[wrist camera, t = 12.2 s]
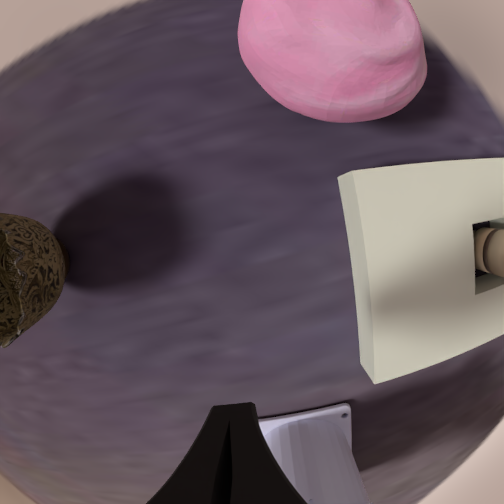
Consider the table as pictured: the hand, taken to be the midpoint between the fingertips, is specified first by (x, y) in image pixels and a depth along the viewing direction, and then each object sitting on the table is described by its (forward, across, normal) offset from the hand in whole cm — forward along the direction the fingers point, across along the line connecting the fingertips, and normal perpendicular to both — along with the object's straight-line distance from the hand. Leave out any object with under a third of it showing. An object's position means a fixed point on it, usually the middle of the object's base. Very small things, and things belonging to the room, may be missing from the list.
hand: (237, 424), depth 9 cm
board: (+10, -15, -1) cm, 18 cm away
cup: (+11, +13, -5) cm, 18 cm away
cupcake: (+12, -7, -13) cm, 19 cm away
